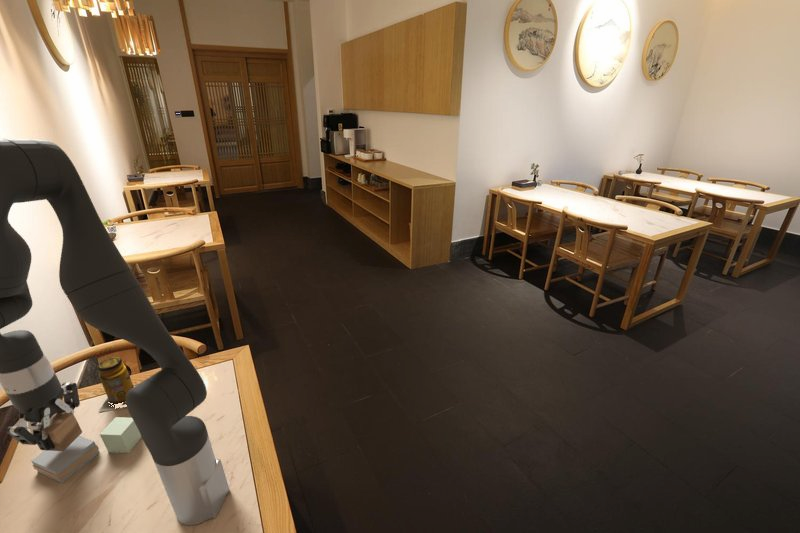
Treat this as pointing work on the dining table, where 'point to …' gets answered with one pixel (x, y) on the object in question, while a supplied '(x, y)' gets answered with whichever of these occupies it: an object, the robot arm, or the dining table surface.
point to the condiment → (114, 382)
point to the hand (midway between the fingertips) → (61, 437)
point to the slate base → (65, 459)
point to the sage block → (120, 435)
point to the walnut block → (63, 430)
